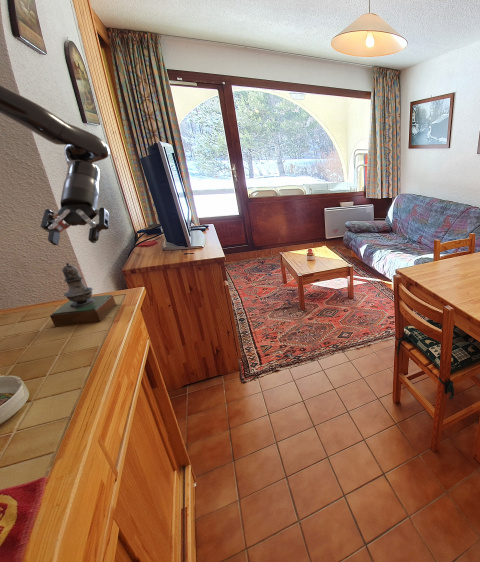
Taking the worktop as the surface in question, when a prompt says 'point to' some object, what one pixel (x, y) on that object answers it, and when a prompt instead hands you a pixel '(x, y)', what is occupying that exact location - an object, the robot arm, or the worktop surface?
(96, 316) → the walnut stand
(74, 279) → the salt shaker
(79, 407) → the worktop surface
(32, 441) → the worktop surface
